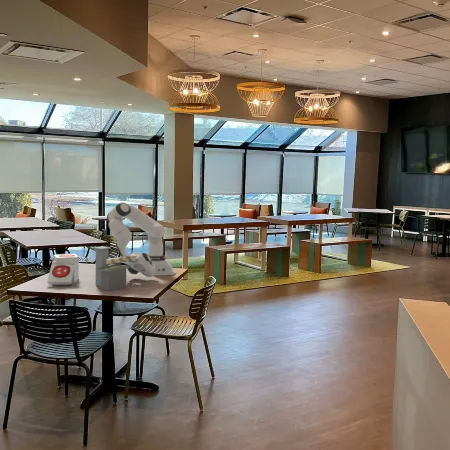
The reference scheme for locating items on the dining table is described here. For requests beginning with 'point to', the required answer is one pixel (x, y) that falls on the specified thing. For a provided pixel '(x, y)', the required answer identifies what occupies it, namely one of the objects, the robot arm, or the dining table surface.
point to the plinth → (100, 261)
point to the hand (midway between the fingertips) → (127, 257)
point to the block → (118, 259)
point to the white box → (64, 269)
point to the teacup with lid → (135, 255)
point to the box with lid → (113, 276)
